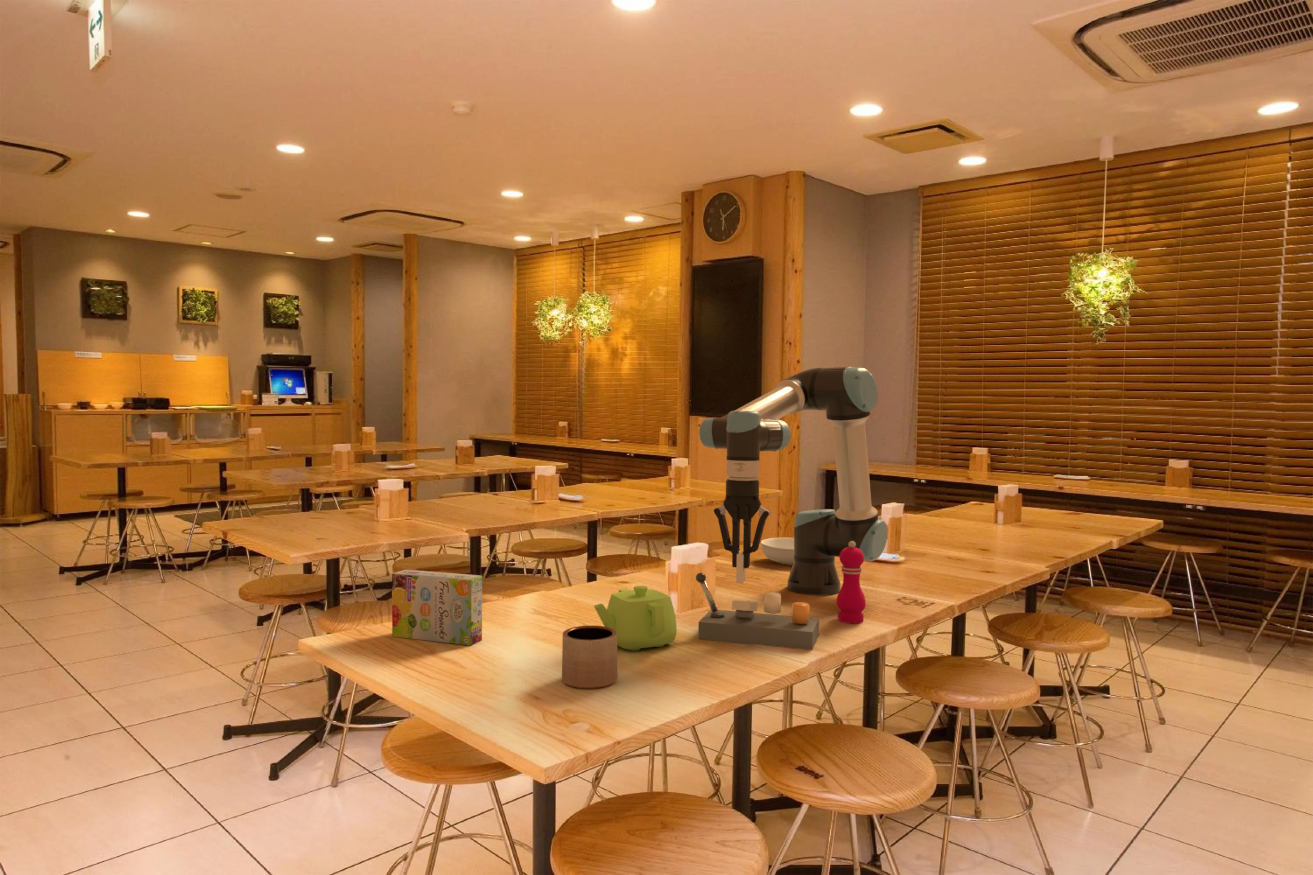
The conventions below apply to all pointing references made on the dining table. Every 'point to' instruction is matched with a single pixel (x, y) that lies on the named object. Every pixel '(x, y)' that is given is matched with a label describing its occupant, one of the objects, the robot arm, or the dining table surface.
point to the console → (758, 629)
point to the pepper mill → (851, 586)
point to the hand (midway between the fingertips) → (740, 581)
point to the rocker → (744, 605)
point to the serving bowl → (779, 549)
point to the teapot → (640, 618)
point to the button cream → (772, 602)
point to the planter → (589, 657)
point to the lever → (706, 591)
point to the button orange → (800, 612)
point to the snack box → (437, 606)
